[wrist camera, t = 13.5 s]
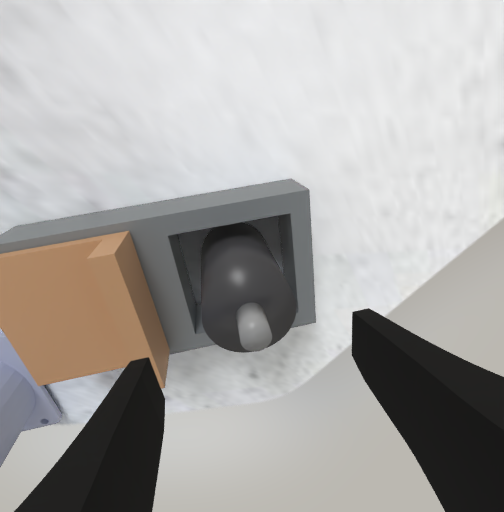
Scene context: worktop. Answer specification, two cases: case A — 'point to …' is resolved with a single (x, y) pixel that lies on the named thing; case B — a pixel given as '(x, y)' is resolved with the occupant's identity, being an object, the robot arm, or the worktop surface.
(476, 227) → the worktop surface
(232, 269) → the plug
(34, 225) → the socket block
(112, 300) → the tan l-shaped bracket
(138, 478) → the robot arm
